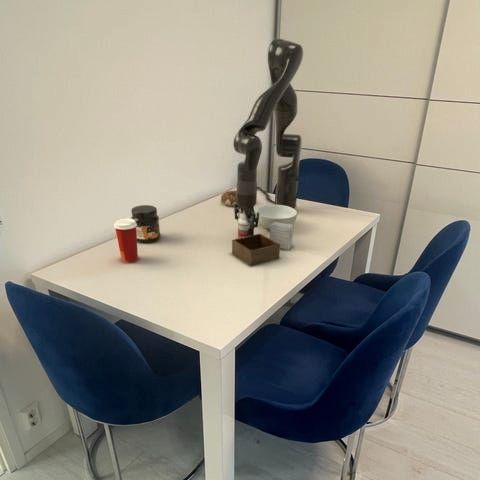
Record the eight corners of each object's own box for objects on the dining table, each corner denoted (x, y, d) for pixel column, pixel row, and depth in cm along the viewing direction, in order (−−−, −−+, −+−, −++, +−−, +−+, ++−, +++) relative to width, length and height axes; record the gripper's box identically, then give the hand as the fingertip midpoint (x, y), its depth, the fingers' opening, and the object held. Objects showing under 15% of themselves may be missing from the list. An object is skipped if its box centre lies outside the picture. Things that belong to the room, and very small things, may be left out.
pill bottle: (246, 236, 183) (247, 209, 177) (256, 241, 179) (257, 213, 173) (234, 240, 179) (234, 212, 173) (244, 244, 175) (245, 217, 169)
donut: (239, 209, 211) (239, 199, 208) (215, 204, 217) (215, 193, 214) (255, 201, 221) (256, 191, 218) (232, 196, 227) (232, 186, 225)
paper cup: (144, 256, 165) (140, 219, 158) (133, 265, 159) (129, 226, 151) (125, 253, 167) (120, 216, 160) (114, 262, 161) (108, 223, 154)
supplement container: (136, 245, 174) (132, 214, 168) (131, 235, 182) (127, 206, 176) (163, 241, 177) (160, 211, 171) (157, 232, 186) (154, 203, 179)
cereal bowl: (249, 230, 188) (250, 214, 184) (263, 218, 201) (263, 202, 197) (289, 237, 183) (290, 220, 179) (300, 223, 196) (301, 207, 192)
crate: (231, 253, 168) (232, 239, 165) (259, 247, 174) (260, 233, 171) (250, 266, 159) (251, 251, 156) (279, 258, 165) (280, 244, 162)
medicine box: (292, 246, 175) (293, 224, 170) (288, 250, 171) (289, 228, 167) (272, 242, 178) (274, 221, 173) (268, 246, 174) (269, 225, 170)
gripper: (266, 194, 165) (264, 238, 174) (244, 185, 176) (243, 226, 184) (248, 198, 162) (248, 242, 171) (227, 188, 172) (227, 230, 181)
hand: (245, 234), depth 178 cm, fingers closed on pill bottle, 6 cm apart
